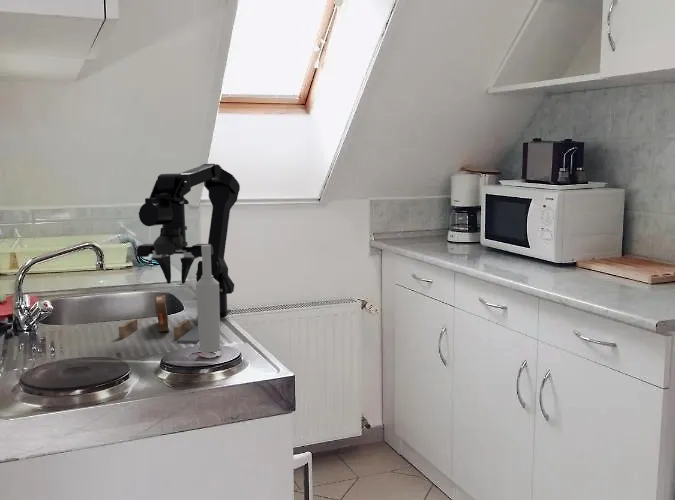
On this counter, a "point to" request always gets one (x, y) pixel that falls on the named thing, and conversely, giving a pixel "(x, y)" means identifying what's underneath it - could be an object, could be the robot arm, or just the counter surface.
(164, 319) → the tin
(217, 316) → the bottle
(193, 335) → the grey plank
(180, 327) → the tan wooden plank
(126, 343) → the counter surface
